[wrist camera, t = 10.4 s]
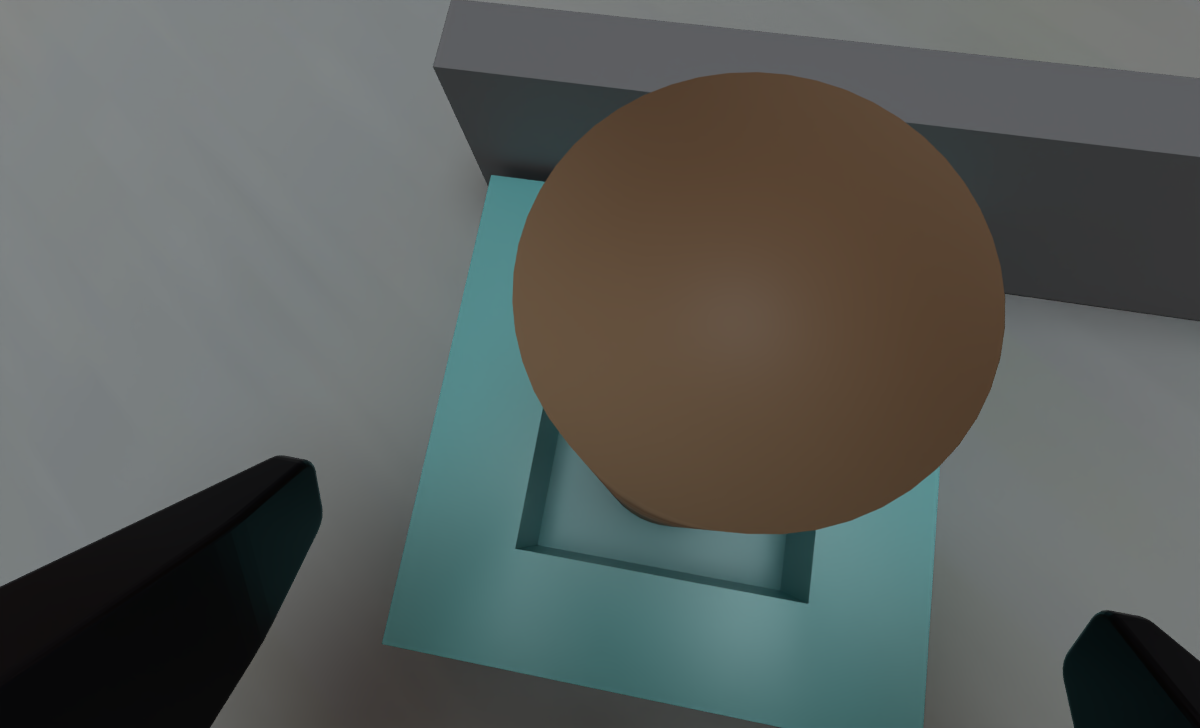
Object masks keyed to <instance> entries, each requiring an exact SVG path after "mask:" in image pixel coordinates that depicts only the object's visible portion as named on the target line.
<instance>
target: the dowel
mask: <svg viewBox="0 0 1200 728" xmlns="http://www.w3.org/2000/svg"><path fill="white" fill-rule="evenodd" d="M512 304H513V314H514V324H515V333H516V337H517V341H518V345H519V350H520V354H521V358H522V362H523V364H524V367H525V370H526V372H527V375H528V377H529V380H530V383H531V385H532V388H533V390H534V392H535V394H536V396H537V398H538V399H539V401H540V403H541V405H542V407H543V408H544V410H545V412H546V414H547V416H548V417H549V419H550V420H551V422H552V423H553V424H554V426H555V427H556V428H557V430H558V431H559V432H560V434H561V435H562V436H563V438H564V439H565V440H566V442H567V443H568V444H569V446H570V447H571V448H572V449H573V450H574V451H575V452H576V454H577V455H578V456H579V457H580V458H581V459H582V460H583V462H584V463H585V464H586V465H587V466H588V467H589V468H590V470H591V471H592V472H593V473H594V474H595V475H596V476H597V478H598V479H599V480H600V481H601V482H602V483H603V484H604V486H605V487H606V488H607V489H608V490H609V491H610V492H611V494H612V495H613V496H614V497H615V498H616V499H617V500H618V501H619V502H620V503H621V504H622V505H623V506H624V507H625V508H626V509H627V510H629V511H630V512H631V513H633V514H634V515H636V516H638V517H639V518H641V519H644V520H646V521H648V522H651V523H655V524H658V525H664V526H671V527H681V528H691V529H702V530H712V531H722V532H732V533H742V534H788V533H796V532H804V531H812V530H818V529H822V528H826V527H830V526H833V525H837V524H841V523H845V522H848V521H851V520H854V519H856V518H858V517H861V516H863V515H866V514H868V513H870V512H873V511H875V510H877V509H880V508H882V507H884V506H885V505H887V504H889V503H890V502H892V501H894V500H895V499H897V498H899V497H900V496H902V495H904V494H905V493H907V492H909V491H910V490H912V489H913V488H914V487H915V486H917V485H918V484H919V483H920V482H921V481H923V480H924V479H925V478H926V477H928V476H929V475H930V474H931V473H933V472H934V471H935V470H936V469H937V468H938V467H939V466H940V465H941V464H942V463H943V462H944V461H945V459H946V458H947V457H948V456H949V455H950V454H951V453H952V452H953V451H954V450H955V449H956V447H957V446H958V445H959V444H960V442H961V441H962V439H963V438H964V436H965V435H966V434H967V432H968V431H969V429H970V428H971V426H972V425H973V423H974V422H975V420H976V419H977V417H978V415H979V413H980V411H981V409H982V406H983V404H984V402H985V400H986V398H987V396H988V394H989V392H990V390H991V387H992V383H993V380H994V377H995V374H996V370H997V367H998V364H999V361H1000V356H1001V349H1002V343H1003V336H1004V329H1005V294H1004V287H1003V279H1002V272H1001V266H1000V262H999V258H998V255H997V251H996V248H995V244H994V241H993V237H992V235H991V232H990V230H989V228H988V225H987V223H986V221H985V218H984V216H983V214H982V212H981V209H980V207H979V206H978V204H977V202H976V201H975V199H974V197H973V196H972V194H971V192H970V191H969V189H968V187H967V186H966V184H965V182H964V181H963V180H962V179H961V177H960V176H959V175H958V173H957V172H956V171H955V170H954V168H953V167H952V166H951V165H950V163H949V162H948V161H947V159H946V158H945V157H944V156H943V155H942V154H941V153H940V152H939V151H938V150H937V149H936V148H935V147H934V146H933V145H932V144H931V143H930V142H929V141H928V140H927V139H926V138H925V137H924V136H922V135H921V134H920V133H918V132H917V131H916V130H914V129H913V128H912V127H911V126H909V125H908V124H907V123H905V122H904V121H903V120H902V119H900V118H899V117H897V116H895V115H894V114H892V113H890V112H889V111H887V110H885V109H884V108H882V107H881V106H879V105H877V104H876V103H874V102H872V101H870V100H867V99H865V98H863V97H861V96H859V95H856V94H854V93H852V92H850V91H847V90H845V89H842V88H839V87H836V86H833V85H829V84H826V83H823V82H820V81H817V80H812V79H807V78H802V77H797V76H792V75H786V74H774V73H763V72H744V73H724V74H717V75H710V76H703V77H698V78H694V79H690V80H686V81H682V82H679V83H675V84H671V85H668V86H666V87H663V88H661V89H658V90H656V91H653V92H651V93H648V94H646V95H643V96H641V97H639V98H638V99H636V100H634V101H632V102H630V103H628V104H626V105H625V106H623V107H621V108H619V109H617V110H616V111H615V112H613V113H612V114H610V115H609V116H608V117H606V118H605V119H603V120H602V121H600V122H599V123H598V124H596V125H595V126H594V127H593V128H592V129H590V130H589V131H588V132H587V133H586V134H585V135H584V136H583V137H582V138H581V139H579V140H578V141H577V142H576V143H575V144H574V145H573V146H572V147H571V149H570V150H569V151H568V152H567V153H566V154H565V156H564V157H563V158H562V159H561V160H560V161H559V163H558V164H557V165H556V166H555V168H554V169H553V171H552V172H551V174H550V175H549V177H548V178H547V180H546V181H545V183H544V184H543V186H542V188H541V189H540V191H539V193H538V195H537V197H536V199H535V201H534V203H533V205H532V208H531V210H530V212H529V214H528V216H527V219H526V222H525V225H524V228H523V231H522V234H521V238H520V241H519V244H518V250H517V255H516V261H515V266H514V272H513V296H512Z"/></svg>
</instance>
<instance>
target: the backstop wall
mask: <svg viewBox="0 0 1200 728" xmlns="http://www.w3.org/2000/svg"><path fill="white" fill-rule="evenodd" d="M433 68H434V70H435V72H436V74H437V76H438V78H439V81H440V83H441V85H442V87H443V89H444V91H445V94H446V96H447V98H448V100H449V102H450V104H451V107H452V109H453V111H454V113H455V115H456V117H457V120H458V122H459V124H460V126H461V128H462V130H463V133H464V135H465V137H466V139H467V141H468V143H469V146H470V148H471V150H472V152H473V154H474V156H475V159H476V161H477V163H478V165H479V167H480V169H481V172H482V174H483V176H484V178H485V180H486V182H487V185H488V186H489V182H490V178H491V175H496V176H503V177H511V178H519V179H527V180H535V181H543V182H545V181H546V180H547V178H548V177H549V175H550V174H551V172H552V171H553V169H554V168H555V166H556V165H557V164H558V163H559V161H560V160H561V159H562V158H563V157H564V156H565V154H566V153H567V152H568V151H569V150H570V149H571V147H572V146H573V145H574V144H575V143H576V142H577V141H578V140H579V139H581V138H582V137H583V136H584V135H585V134H586V133H587V132H588V131H589V130H590V129H592V128H593V127H594V126H595V125H596V124H598V123H599V122H600V121H602V120H603V119H605V118H606V117H608V116H609V115H610V114H612V113H613V112H615V111H616V110H617V109H619V108H621V107H623V106H625V105H626V104H628V103H630V102H632V101H634V100H636V99H638V98H639V97H641V96H643V95H646V94H648V93H651V92H653V91H656V90H658V89H661V88H663V87H666V86H668V85H671V84H675V83H679V82H682V81H686V80H690V79H694V78H698V77H703V76H710V75H717V74H724V73H744V72H763V73H774V74H786V75H792V76H797V77H802V78H807V79H812V80H817V81H820V82H823V83H826V84H829V85H833V86H836V87H839V88H842V89H845V90H847V91H850V92H852V93H854V94H856V95H859V96H861V97H863V98H865V99H867V100H870V101H872V102H874V103H876V104H877V105H879V106H881V107H882V108H884V109H885V110H887V111H889V112H890V113H892V114H894V115H895V116H897V117H899V118H900V119H902V120H903V121H904V122H905V123H907V124H908V125H909V126H911V127H912V128H913V129H914V130H916V131H917V132H918V133H920V134H921V135H922V136H924V137H925V138H926V139H927V140H928V141H929V142H930V143H931V144H932V145H933V146H934V147H935V148H936V149H937V150H938V151H939V152H940V153H941V154H942V155H943V156H944V157H945V158H946V159H947V161H948V162H949V163H950V165H951V166H952V167H953V168H954V170H955V171H956V172H957V173H958V175H959V176H960V177H961V179H962V180H963V181H964V182H965V184H966V186H967V187H968V189H969V191H970V192H971V194H972V196H973V197H974V199H975V201H976V202H977V204H978V206H979V207H980V209H981V212H982V214H983V216H984V218H985V221H986V223H987V225H988V228H989V230H990V232H991V235H992V237H993V241H994V244H995V248H996V251H997V255H998V258H999V262H1000V266H1001V272H1002V279H1003V287H1004V293H1007V294H1015V295H1022V296H1029V297H1036V298H1043V299H1050V300H1057V301H1064V302H1071V303H1078V304H1085V305H1092V306H1099V307H1106V308H1113V309H1120V310H1127V311H1134V312H1141V313H1148V314H1155V315H1163V316H1170V317H1177V318H1184V319H1191V320H1198V321H1200V78H1192V77H1182V76H1173V75H1163V74H1154V73H1145V72H1135V71H1126V70H1116V69H1107V68H1098V67H1088V66H1079V65H1069V64H1060V63H1051V62H1041V61H1032V60H1023V59H1013V58H1004V57H994V56H985V55H976V54H966V53H957V52H947V51H938V50H929V49H919V48H910V47H900V46H891V45H882V44H872V43H863V42H854V41H844V40H835V39H825V38H816V37H807V36H797V35H788V34H778V33H769V32H760V31H750V30H741V29H731V28H722V27H713V26H703V25H694V24H684V23H675V22H666V21H656V20H647V19H638V18H628V17H619V16H609V15H600V14H591V13H581V12H572V11H562V10H553V9H544V8H534V7H525V6H515V5H506V4H497V3H487V2H478V1H468V0H451V2H450V6H449V10H448V13H447V17H446V21H445V24H444V28H443V32H442V35H441V39H440V43H439V46H438V50H437V54H436V57H435V61H434V65H433Z"/></svg>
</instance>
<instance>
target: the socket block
mask: <svg viewBox="0 0 1200 728" xmlns="http://www.w3.org/2000/svg"><path fill="white" fill-rule="evenodd" d="M544 183H545V182H543V181H535V180H527V179H519V178H511V177H503V176H496V175H491V178H490V182H489V186H488V191H487V195H486V199H485V204H484V208H483V212H482V216H481V221H480V225H479V229H478V234H477V238H476V242H475V246H474V251H473V255H472V259H471V264H470V268H469V272H468V276H467V281H466V285H465V289H464V294H463V298H462V302H461V307H460V311H459V315H458V319H457V324H456V328H455V332H454V337H453V341H452V345H451V349H450V354H449V358H448V362H447V367H446V371H445V375H444V379H443V384H442V388H441V392H440V397H439V401H438V405H437V409H436V414H435V418H434V422H433V427H432V431H431V435H430V439H429V444H428V448H427V452H426V457H425V461H424V465H423V469H422V474H421V478H420V482H419V487H418V491H417V495H416V500H415V504H414V508H413V512H412V517H411V521H410V525H409V530H408V534H407V538H406V542H405V547H404V551H403V555H402V560H401V564H400V568H399V572H398V577H397V581H396V585H395V590H394V594H393V598H392V602H391V607H390V611H389V615H388V620H387V624H386V628H385V632H384V637H383V641H382V644H384V645H389V646H394V647H398V648H403V649H408V650H413V651H418V652H422V653H427V654H432V655H437V656H442V657H446V658H451V659H456V660H461V661H465V662H470V663H475V664H480V665H485V666H489V667H494V668H499V669H504V670H509V671H513V672H518V673H523V674H528V675H532V676H537V677H542V678H547V679H552V680H556V681H561V682H566V683H571V684H576V685H580V686H585V687H590V688H595V689H599V690H604V691H609V692H614V693H619V694H623V695H628V696H633V697H638V698H643V699H647V700H652V701H657V702H662V703H666V704H671V705H676V706H681V707H686V708H690V709H695V710H700V711H705V712H709V713H714V714H719V715H724V716H729V717H733V718H738V719H743V720H748V721H753V722H757V723H762V724H767V725H772V726H776V727H781V728H923V722H924V707H925V691H926V675H927V660H928V644H929V628H930V613H931V597H932V582H933V566H934V550H935V535H936V519H937V503H938V488H939V472H940V466H939V467H938V468H937V469H936V470H935V471H934V472H933V473H931V474H930V475H929V476H928V477H926V478H925V479H924V480H923V481H921V482H920V483H919V484H918V485H917V486H915V487H914V488H913V489H912V490H910V491H909V492H907V493H905V494H904V495H902V496H900V497H899V498H897V499H895V500H894V501H892V502H890V503H889V504H887V505H885V506H884V507H882V508H880V509H877V510H875V511H873V512H870V513H868V514H866V515H863V516H861V517H858V518H856V519H854V520H851V521H848V522H845V523H841V524H837V525H833V526H830V527H826V528H822V529H818V530H812V531H804V532H796V533H788V534H742V533H732V532H722V531H712V530H702V529H691V528H681V527H671V526H664V525H658V524H655V523H651V522H648V521H646V520H644V519H641V518H639V517H638V516H636V515H634V514H633V513H631V512H630V511H629V510H627V509H626V508H625V507H624V506H623V505H622V504H621V503H620V502H619V501H618V500H617V499H616V498H615V497H614V496H613V495H612V494H611V492H610V491H609V490H608V489H607V488H606V487H605V486H604V484H603V483H602V482H601V481H600V480H599V479H598V478H597V476H596V475H595V474H594V473H593V472H592V471H591V470H590V468H589V467H588V466H587V465H586V464H585V463H584V462H583V460H582V459H581V458H580V457H579V456H578V455H577V454H576V452H575V451H574V450H573V449H572V448H571V447H570V446H569V444H568V443H567V442H566V440H565V439H564V438H563V436H562V435H561V434H560V432H559V431H558V430H557V428H556V427H555V426H554V424H553V423H552V422H551V420H550V419H549V417H548V416H547V414H546V412H545V410H544V408H543V407H542V405H541V403H540V401H539V399H538V398H537V396H536V394H535V392H534V390H533V388H532V385H531V383H530V380H529V377H528V375H527V372H526V370H525V367H524V364H523V362H522V358H521V354H520V350H519V345H518V341H517V337H516V333H515V324H514V314H513V304H512V296H513V272H514V266H515V261H516V255H517V250H518V244H519V241H520V238H521V234H522V231H523V228H524V225H525V222H526V219H527V216H528V214H529V212H530V210H531V208H532V205H533V203H534V201H535V199H536V197H537V195H538V193H539V191H540V189H541V188H542V186H543V184H544Z"/></svg>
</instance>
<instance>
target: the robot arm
mask: <svg viewBox="0 0 1200 728" xmlns="http://www.w3.org/2000/svg"><path fill="white" fill-rule="evenodd" d="M321 520H322V504H321V498H320V493H319V487H318V482H317V476H316V471H315V467H314V466H313V464H312V463H311V462H310V461H308V460H305V459H300V458H294V457H289V456H275V457H272V458H270V459H268V460H266V461H264V462H261V463H259V464H257V465H255V466H253V467H251V468H249V469H247V470H245V471H243V472H240V473H238V474H236V475H234V476H232V477H230V478H228V479H226V480H224V481H221V482H219V483H217V484H215V485H213V486H211V487H209V488H207V489H205V490H203V491H200V492H198V493H196V494H194V495H192V496H190V497H188V498H186V499H184V500H182V501H179V502H177V503H175V504H173V505H171V506H169V507H167V508H165V509H163V510H161V511H158V512H156V513H154V514H152V515H150V516H148V517H146V518H144V519H142V520H140V521H137V522H135V523H133V524H131V525H129V526H127V527H125V528H123V529H121V530H119V531H116V532H114V533H112V534H110V535H108V536H106V537H104V538H102V539H100V540H98V541H95V542H93V543H91V544H89V545H87V546H85V547H83V548H81V549H79V550H77V551H74V552H72V553H70V554H68V555H66V556H64V557H62V558H60V559H58V560H56V561H53V562H51V563H49V564H47V565H45V566H43V567H41V568H39V569H37V570H34V571H32V572H30V573H28V574H26V575H24V576H22V577H20V578H18V579H16V580H13V581H11V582H9V583H7V584H5V585H3V586H1V587H0V728H210V727H211V725H212V724H213V722H214V720H215V719H216V717H217V716H218V714H219V712H220V711H221V709H222V708H223V706H224V704H225V703H226V701H227V700H228V698H229V696H230V695H231V693H232V692H233V690H234V688H235V687H236V685H237V684H238V682H239V680H240V679H241V677H242V676H243V674H244V672H245V671H246V669H247V668H248V666H249V664H250V663H251V661H252V659H253V658H254V656H255V654H256V653H257V651H258V649H259V648H260V646H261V644H262V643H263V641H264V639H265V637H266V635H267V633H268V631H269V629H270V627H271V626H272V624H273V622H274V620H275V618H276V616H277V613H278V611H279V609H280V607H281V605H282V603H283V601H284V599H285V597H286V595H287V593H288V591H289V589H290V587H291V585H292V583H293V581H294V579H295V577H296V575H297V573H298V571H299V569H300V567H301V565H302V563H303V561H304V559H305V556H306V554H307V552H308V550H309V548H310V546H311V544H312V542H313V540H314V538H315V536H316V534H317V532H318V530H319V527H320V524H321ZM1063 678H1064V684H1065V688H1066V693H1067V697H1068V702H1069V706H1070V711H1071V715H1072V720H1073V724H1074V728H1200V661H1199V660H1198V659H1196V658H1195V657H1194V656H1193V655H1192V654H1190V653H1189V652H1188V651H1187V650H1186V649H1184V648H1183V647H1182V646H1181V645H1179V644H1178V643H1177V642H1176V641H1175V640H1173V639H1172V638H1171V637H1170V636H1169V635H1167V634H1166V633H1165V632H1164V631H1162V630H1161V629H1160V628H1159V627H1158V626H1156V625H1155V624H1154V623H1152V622H1151V621H1150V620H1148V619H1146V618H1143V617H1140V616H1136V615H1131V614H1125V613H1120V612H1115V611H1109V610H1106V611H1101V612H1099V613H1097V614H1095V615H1094V616H1093V618H1092V619H1091V620H1090V622H1089V623H1088V625H1087V626H1086V627H1085V629H1084V630H1083V632H1082V633H1081V634H1080V636H1079V637H1078V639H1077V640H1076V642H1075V643H1074V644H1073V646H1072V647H1071V649H1070V650H1069V651H1068V653H1067V655H1066V657H1065V660H1064V664H1063Z"/></svg>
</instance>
